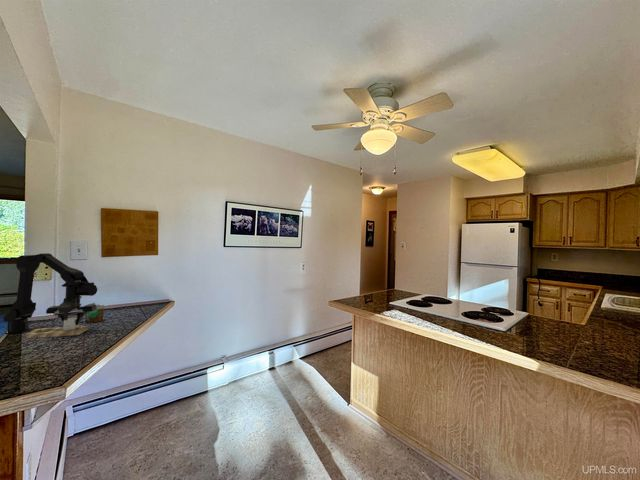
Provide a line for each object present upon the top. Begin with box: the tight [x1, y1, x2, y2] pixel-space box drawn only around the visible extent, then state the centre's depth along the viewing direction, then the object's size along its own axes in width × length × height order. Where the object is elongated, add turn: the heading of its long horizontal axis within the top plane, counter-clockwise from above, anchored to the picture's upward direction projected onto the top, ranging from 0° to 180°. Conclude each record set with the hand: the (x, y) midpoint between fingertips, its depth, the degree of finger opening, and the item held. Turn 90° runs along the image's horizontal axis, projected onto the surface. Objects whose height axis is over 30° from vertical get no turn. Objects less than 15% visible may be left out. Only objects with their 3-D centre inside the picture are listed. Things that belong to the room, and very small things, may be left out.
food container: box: [86, 302, 105, 324], centre depth 158 cm, size 12×6×10 cm, turn 62°
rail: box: [24, 325, 89, 339], centre depth 136 cm, size 21×9×2 cm, turn 109°
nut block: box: [62, 317, 80, 331], centre depth 138 cm, size 5×5×6 cm
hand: (71, 325), depth 138 cm, fingers closed on nut block, 5 cm apart
